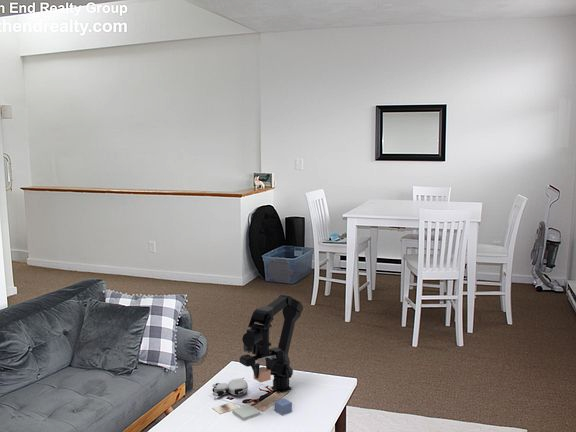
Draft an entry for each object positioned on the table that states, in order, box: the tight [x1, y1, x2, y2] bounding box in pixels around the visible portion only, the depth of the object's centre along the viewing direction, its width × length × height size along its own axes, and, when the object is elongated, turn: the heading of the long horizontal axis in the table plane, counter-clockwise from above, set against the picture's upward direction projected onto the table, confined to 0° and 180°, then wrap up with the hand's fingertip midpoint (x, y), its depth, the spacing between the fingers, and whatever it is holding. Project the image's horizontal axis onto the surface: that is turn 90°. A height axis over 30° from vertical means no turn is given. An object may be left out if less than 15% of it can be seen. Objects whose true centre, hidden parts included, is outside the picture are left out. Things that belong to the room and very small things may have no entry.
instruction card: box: [212, 401, 240, 415], centre depth 231 cm, size 9×6×1 cm, turn 128°
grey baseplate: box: [231, 404, 261, 421], centre depth 227 cm, size 8×8×1 cm
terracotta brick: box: [253, 366, 272, 383], centre depth 235 cm, size 5×5×4 cm
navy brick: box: [273, 397, 293, 416], centre depth 229 cm, size 5×5×4 cm
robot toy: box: [212, 377, 248, 397], centre depth 245 cm, size 12×4×15 cm
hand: (262, 376), depth 235 cm, fingers closed on terracotta brick, 5 cm apart
